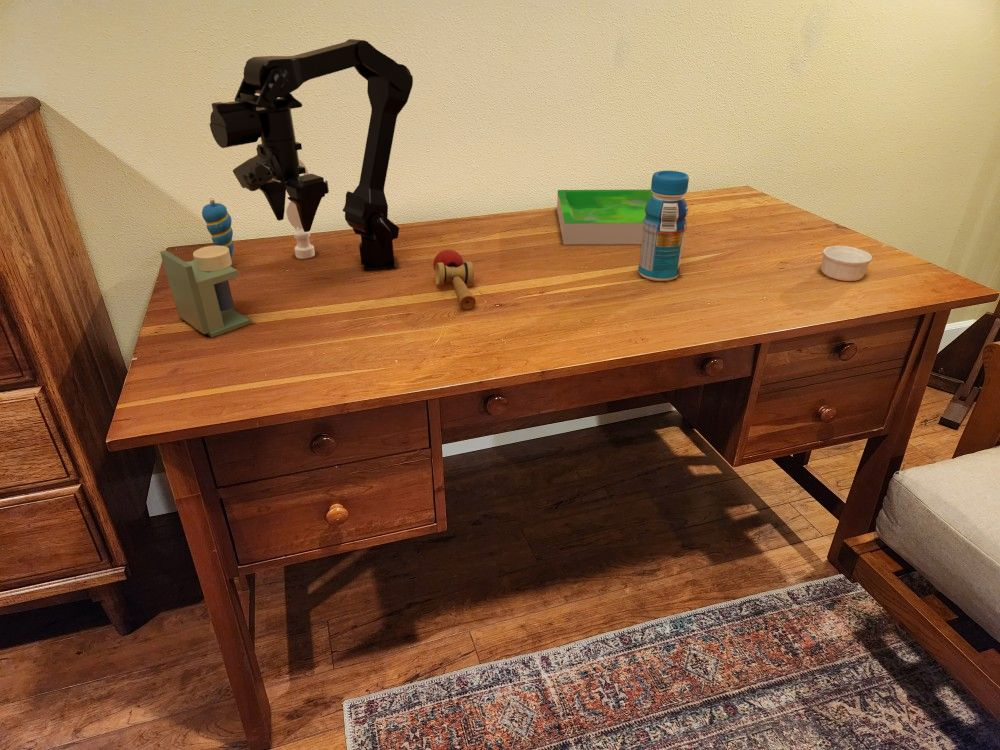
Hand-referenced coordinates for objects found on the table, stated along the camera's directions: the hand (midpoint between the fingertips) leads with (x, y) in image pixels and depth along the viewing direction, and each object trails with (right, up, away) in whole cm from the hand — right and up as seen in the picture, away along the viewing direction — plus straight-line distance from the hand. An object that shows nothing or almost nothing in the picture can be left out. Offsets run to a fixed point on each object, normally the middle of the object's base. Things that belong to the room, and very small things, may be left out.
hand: (293, 225), depth 124 cm
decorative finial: (-4, -1, +23) cm, 23 cm away
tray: (+65, +8, +37) cm, 75 cm away
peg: (-11, -15, -4) cm, 19 cm away
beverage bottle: (+70, -7, +12) cm, 72 cm away
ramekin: (+107, -7, +12) cm, 108 cm away
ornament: (-19, -5, +17) cm, 26 cm away
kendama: (+30, -11, +6) cm, 33 cm away
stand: (-13, -18, -4) cm, 23 cm away
